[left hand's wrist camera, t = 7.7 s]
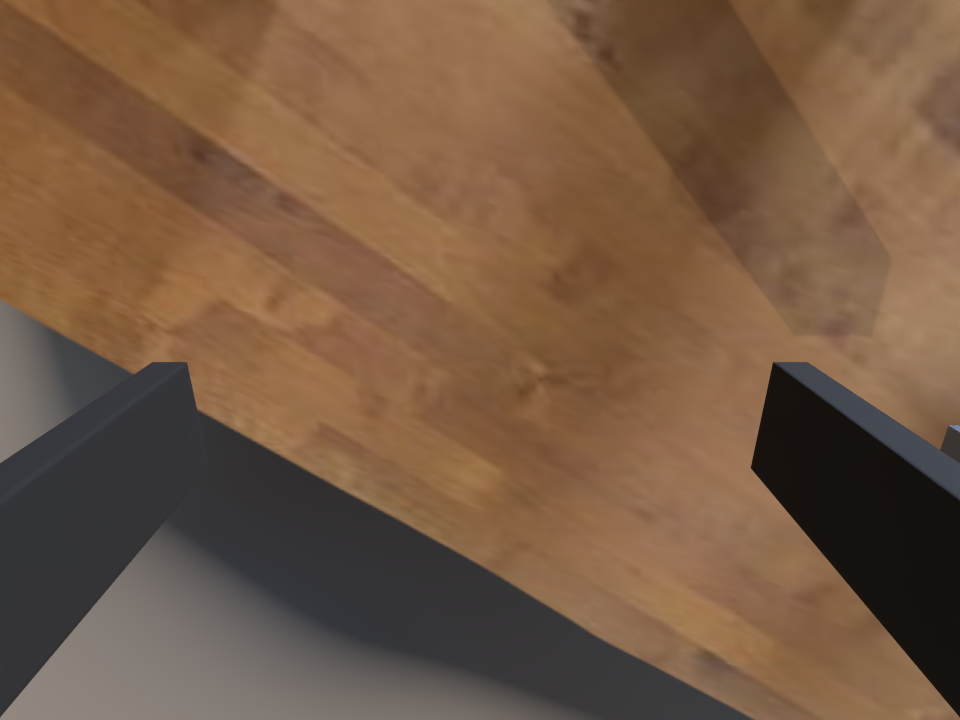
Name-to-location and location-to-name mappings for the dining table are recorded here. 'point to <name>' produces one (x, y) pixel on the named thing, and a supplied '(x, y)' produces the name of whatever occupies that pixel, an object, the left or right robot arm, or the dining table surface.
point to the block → (952, 443)
